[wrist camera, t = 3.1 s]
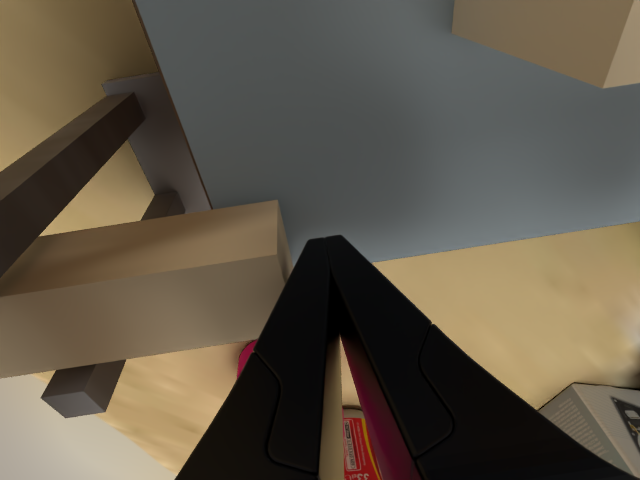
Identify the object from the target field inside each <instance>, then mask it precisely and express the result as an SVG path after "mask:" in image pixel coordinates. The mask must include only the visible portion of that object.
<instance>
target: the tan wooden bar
mask: <svg viewBox="0 0 640 480" xmlns="http://www.w3.org/2000/svg"><path fill="white" fill-rule="evenodd" d="M293 268H294V267H293V263H292V259H291V254H290V250H289V246H288V242H287V237H286V233H285V229H284V224H283V220H282V216H281V212H280V207H279V203H278V200H271V201H265V202H259V203H252V204H246V205H239V206H233V207H226V208H220V209H214V210H207V211H201V212H194V213H188V214H181V215H175V216H169V217H162V218H156V219H149V220H143V221H136V222H130V223H123V224H117V225H111V226H104V227H98V228H91V229H85V230H78V231H72V232H66V233H59V234H53V235H46V236H40V237H37V238H36V240H35V241H34V242H33V243H32V244H31V245H30V246H29V247H28V248H27V249H26V250H25V252H24V253H23V254H22V255H21V256H20V257H19V258H18V259H17V260H16V261H15V262H14V264H13V265H12V266H11V267H10V268H9V269H8V270H7V271H6V272H5V273H4V274H3V276H2V277H1V278H0V378H7V377H12V376H20V375H26V374H33V373H39V372H46V371H52V370H59V369H66V368H72V367H79V366H85V365H92V364H98V363H105V362H111V361H118V360H124V359H131V358H138V357H144V356H151V355H157V354H164V353H170V352H177V351H183V350H190V349H196V348H203V347H210V346H216V345H223V344H229V343H236V342H242V341H249V340H255V339H258V338H259V336H260V334H261V332H262V330H263V328H264V326H265V324H266V322H267V320H268V318H269V316H270V314H271V312H272V310H273V308H274V306H275V304H276V302H277V300H278V298H279V296H280V294H281V292H282V290H283V288H284V286H285V284H286V282H287V280H288V278H289V276H290V274H291V272H292V270H293Z"/></svg>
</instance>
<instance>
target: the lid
mask: <svg viewBox="0 0 640 480" xmlns="http://www.w3.org/2000/svg"><path fill="white" fill-rule="evenodd" d="M135 1H136V4H137V7H138V9H139V12H140V15H141V17H142V20H143V23H144V25H145V28H146V31H147V33H148V36H149V39H150V41H151V44H152V47H153V49H154V52H155V55H156V57H157V60H158V63H159V65H160V68H161V71H162V73H163V76H164V79H165V81H166V84H167V87H168V89H169V92H170V95H171V97H172V100H173V103H174V105H175V108H176V111H177V113H178V116H179V119H180V121H181V124H182V127H183V129H184V132H185V135H186V137H187V140H188V143H189V145H190V148H191V151H192V153H193V156H194V159H195V162H196V164H197V167H198V170H199V172H200V175H201V178H202V180H203V183H204V186H205V188H206V191H207V194H208V196H209V199H210V202H211V204H212V207H213V210H214V209H220V208H226V207H233V206H239V205H246V204H252V203H259V202H265V201H271V200H278V203H279V207H280V212H281V216H282V220H283V224H284V229H285V233H286V237H287V242H288V246H289V250H290V254H291V259H292V263H293V267H294V266H295V264H296V262H297V260H298V258H299V256H300V254H301V252H302V250H303V248H304V246H305V244H306V242H307V240H309V239H313V238H320V237H324V238H325V237H327V236H333V235H342V236H343V237H345V238H346V239H347V240H348V241H349V242H350V243H351V244H352V245H353V246H354V247H355V248H356V249H357V250H358V251H359V252H360V253H361V254H362V255H363V256H364V257H365V258H366V259H367V260H368V261H369V262H370V263H373V262H379V261H386V260H392V259H399V258H405V257H412V256H418V255H425V254H431V253H438V252H444V251H451V250H457V249H464V248H470V247H477V246H483V245H490V244H496V243H503V242H509V241H516V240H522V239H529V238H535V237H542V236H548V235H555V234H561V233H568V232H574V231H581V230H587V229H594V228H600V227H607V226H613V225H620V224H626V223H632V222H639V221H640V0H135Z"/></svg>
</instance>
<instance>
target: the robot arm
mask: <svg viewBox="0 0 640 480" xmlns="http://www.w3.org/2000/svg"><path fill="white" fill-rule="evenodd" d="M340 337H341V340H342V344H343V347H344V351H345V354H346V357H347V361H348V364H349V367H350V371H351V374H352V377H353V381H354V384H355V388H356V391H357V394H358V398H359V401H360V404H361V408H362V411H363V414H364V418H365V421H366V424H367V428H368V431H369V435H370V438H371V441H372V445H373V448H374V451H375V455H376V458H377V461H378V465H379V468H380V471H381V475H382V478H383V480H640V478H638V477H636V476H634V475H632V474H630V473H628V472H626V471H624V470H622V469H620V468H618V467H616V466H614V465H613V464H611V463H609V462H608V461H606V460H604V459H602V458H601V457H599V456H598V455H596V454H594V453H593V452H591V451H590V450H588V449H587V448H585V447H584V446H583V445H581V444H580V443H578V442H577V441H576V440H574V439H573V438H572V437H570V436H569V435H568V434H567V433H565V432H564V431H563V430H561V429H560V428H559V427H558V426H556V425H555V424H554V423H552V422H551V421H550V420H549V419H547V418H546V417H545V416H543V415H542V414H541V413H540V412H538V411H537V410H536V409H534V408H533V407H532V406H531V405H529V404H528V403H527V402H526V401H524V400H523V399H522V398H520V397H519V396H518V395H517V394H515V393H514V392H513V391H511V390H510V389H509V388H508V387H506V386H505V385H504V384H502V383H501V382H500V381H499V380H497V379H496V378H495V377H494V376H492V375H491V374H490V373H489V372H487V371H486V370H485V369H484V368H483V367H481V366H480V365H479V364H478V363H476V362H475V361H474V360H473V359H472V358H470V357H469V356H468V355H467V354H466V353H465V352H464V351H463V350H461V349H460V348H459V347H458V346H457V345H456V344H455V343H454V342H453V341H452V340H450V339H449V338H448V337H447V336H446V335H445V334H444V333H443V332H442V331H441V330H440V329H439V328H438V327H437V326H436V325H435V324H432V322H431V320H429V319H428V318H427V317H426V316H425V315H424V314H423V313H422V312H421V311H420V310H419V309H418V308H417V307H416V306H415V305H414V304H413V303H412V302H411V301H410V300H409V299H408V298H407V297H406V296H405V295H404V294H403V293H401V292H400V291H399V290H398V289H397V288H396V287H395V286H394V285H393V284H392V283H391V282H390V281H389V280H388V279H387V278H386V277H385V276H384V275H383V274H382V273H381V272H380V271H379V270H378V269H377V268H376V267H375V266H374V265H372V264H371V263H370V262H369V261H368V260H367V259H366V258H365V257H364V256H363V255H362V254H361V253H360V252H359V251H358V250H357V249H356V248H355V247H354V246H353V245H352V244H351V243H350V242H349V241H348V240H347V239H346V238H345V237H343V236H342V235H333V236H327V237H325V238H324V237H320V238H313V239H309V240H307V242H306V244H305V246H304V248H303V250H302V252H301V254H300V256H299V258H298V260H297V262H296V264H295V266H294V268H293V270H292V272H291V274H290V276H289V278H288V280H287V282H286V284H285V286H284V288H283V290H282V292H281V294H280V296H279V298H278V300H277V302H276V304H275V306H274V308H273V310H272V312H271V314H270V316H269V318H268V320H267V322H266V324H265V326H264V328H263V330H262V332H261V334H260V336H259V338H258V340H257V342H256V344H255V346H254V348H253V352H251V353H250V355H249V357H248V359H247V361H246V363H245V365H244V367H243V369H242V371H241V373H240V375H239V377H238V379H237V380H236V382H235V384H234V386H233V388H232V390H231V391H230V393H229V395H228V397H227V398H226V400H225V402H224V403H223V405H222V406H221V408H220V410H219V411H218V413H217V415H216V416H215V418H214V419H213V421H212V423H211V424H210V426H209V427H208V429H207V430H206V432H205V433H204V435H203V437H202V438H201V440H200V441H199V443H198V444H197V446H196V447H195V449H194V450H193V452H192V454H191V455H190V457H189V458H188V460H187V461H186V463H185V464H184V466H183V467H182V469H181V470H180V472H179V474H178V475H177V477H176V478H175V480H344V450H343V419H342V387H341V356H340Z"/></svg>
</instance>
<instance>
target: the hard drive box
mask: <svg viewBox="0 0 640 480" xmlns="http://www.w3.org/2000/svg"><path fill="white" fill-rule="evenodd" d="M538 412H540V413H541V414H542V415H543V416H545V417H546V418H547V419H549V420H550V421H551V422H552V423H554V424H555V425H556V426H558V427H559V428H560V429H561V430H563V431H564V432H565V433H567V434H568V435H569V436H570V437H572V438H573V439H574V440H576V441H577V442H578V443H580V444H581V445H583V446H584V447H585V448H587V449H588V450H590V451H591V452H593V453H594V454H596V455H598V456H599V457H601V458H602V459H604V460H606V461H608V462H609V463H611V464H613V465H614V466H616V467H618V468H620V469H622V470H624V471H626V472H628V473H630V474H632V475H634V476H636V477H638V478H640V391H639V390H630V389H621V388H615V387H612V386H604V385H598V386H594V385H586V384H577V383H573V384H571V385H570V386H569V387H568V388H567V389H565V390H564V391H563V392H561V393H560V394H559V395H558V396H557V397H555V398H554V399H553V400H551V401H550V402H549V403H548V404H546V405H545V406H544V407H543V408H541V409H540V410H539V411H538Z"/></svg>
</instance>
